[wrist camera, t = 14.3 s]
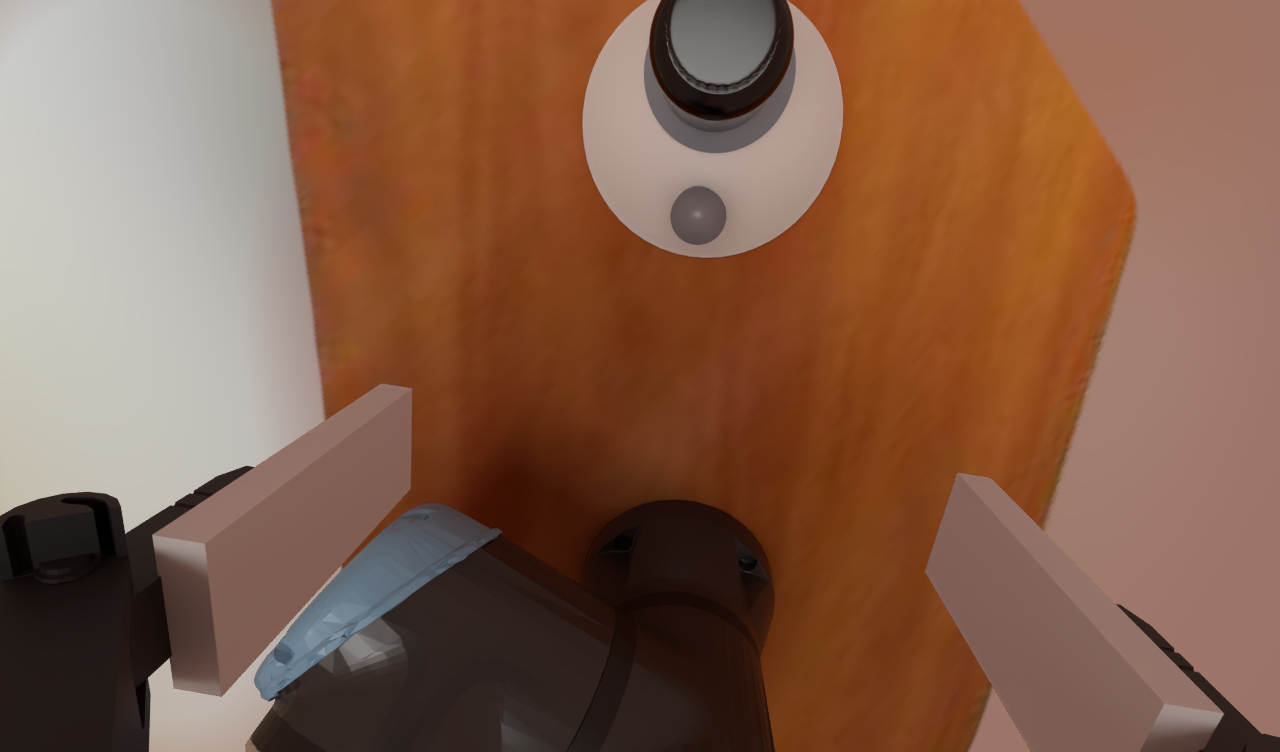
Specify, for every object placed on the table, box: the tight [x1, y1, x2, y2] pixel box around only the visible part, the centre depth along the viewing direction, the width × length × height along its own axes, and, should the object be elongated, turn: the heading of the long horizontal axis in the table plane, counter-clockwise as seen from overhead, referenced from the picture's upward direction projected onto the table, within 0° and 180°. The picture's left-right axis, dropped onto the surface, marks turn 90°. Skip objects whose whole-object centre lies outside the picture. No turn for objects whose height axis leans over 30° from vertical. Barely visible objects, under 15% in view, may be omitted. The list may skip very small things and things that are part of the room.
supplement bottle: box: [649, 0, 794, 132], centre depth 31 cm, size 7×7×12 cm
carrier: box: [583, 0, 843, 258], centre depth 35 cm, size 16×16×8 cm
